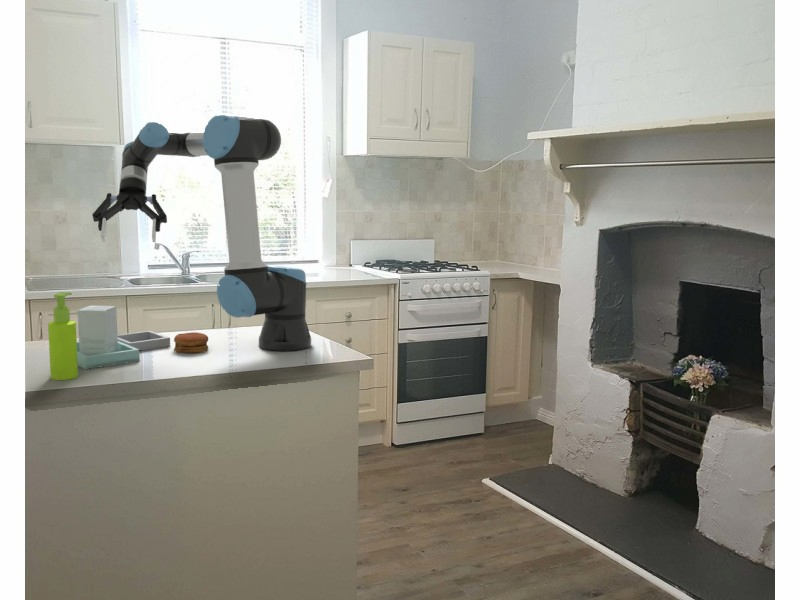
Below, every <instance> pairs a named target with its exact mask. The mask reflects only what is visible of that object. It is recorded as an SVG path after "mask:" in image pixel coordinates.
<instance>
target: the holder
mask: <svg viewBox="0 0 800 600" xmlns="http://www.w3.org/2000/svg"><path fill="white" fill-rule="evenodd" d="M117 335H118V341H119V342H122V343H124V344H127V345H129V346H132V347H134V348H137V349H139V350H142V351H146V350H147V351H149V350H154V349H155V348H156V349H160V348H161V347H162V348H167V347H166V346H169V347H171V337H169V336H166V335H163V334H162V333H161V334H160V333H157V332H155V331H153V330H145V331H137V332H129V333H121V334H117ZM162 348H161V349H162ZM148 349H149V350H148Z"/></svg>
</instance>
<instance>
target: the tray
mask: <svg viewBox="0 0 800 600" xmlns="http://www.w3.org/2000/svg"><path fill="white" fill-rule="evenodd" d="M140 359H141V358H140V351H139V349H137V348H134V347H132V346H129V345H127V344H124V343H122V342H119V341H118V352H113V353H106V354H99V355H93V356H86V355H84V354H81V353H80V348H79V341H77V364H78V367H79V366H80V368H82V369H83V370H90V369H89V368H91V369H96V368H95V367H98V368H101V367H100V366H104V367H107V366H106V365H110V366H114V365H113V364H116V365H121V364H120V363H122V364H127V363H126V362H129V363H133V362H132V361H135V362H140V361H141V360H140Z"/></svg>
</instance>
